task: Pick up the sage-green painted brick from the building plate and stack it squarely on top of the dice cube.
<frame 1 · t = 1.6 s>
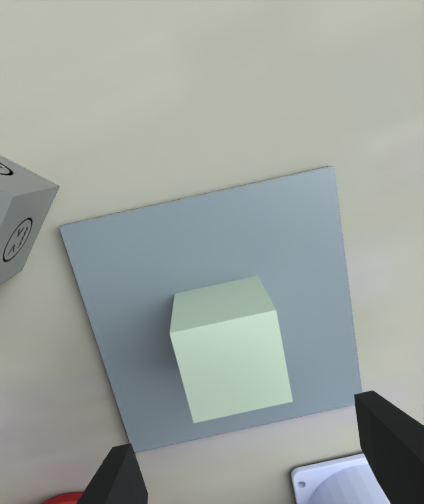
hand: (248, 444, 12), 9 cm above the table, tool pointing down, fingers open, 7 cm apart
building plate: (223, 318, 21), on the table
sage brick: (224, 322, 20), point 1 cm above the table, touching building plate
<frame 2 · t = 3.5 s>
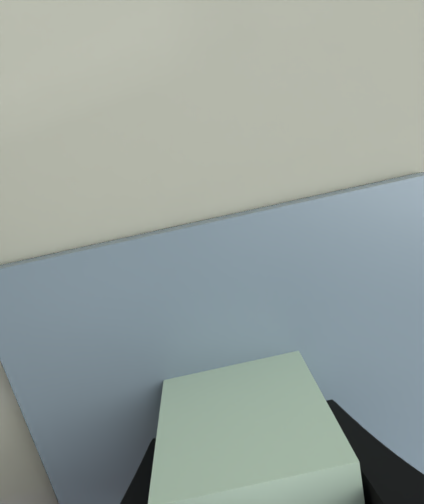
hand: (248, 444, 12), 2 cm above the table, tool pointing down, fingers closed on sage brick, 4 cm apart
building plate: (241, 410, 13), on the table
sage brick: (243, 422, 13), point 1 cm above the table, touching building plate, gripper
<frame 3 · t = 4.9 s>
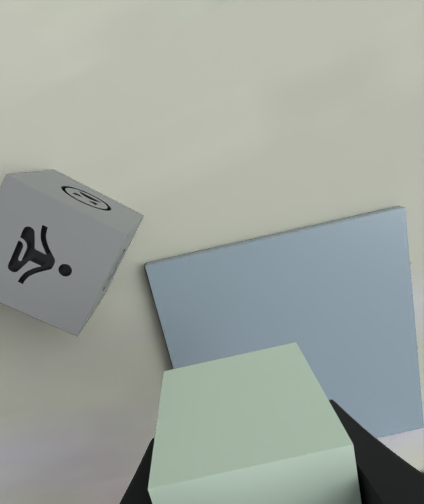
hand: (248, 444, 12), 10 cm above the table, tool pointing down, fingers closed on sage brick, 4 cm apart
building plate: (292, 348, 22), on the table
dice cube: (82, 233, 20), on the table
sage brick: (242, 413, 13), point 8 cm above the table, touching gripper
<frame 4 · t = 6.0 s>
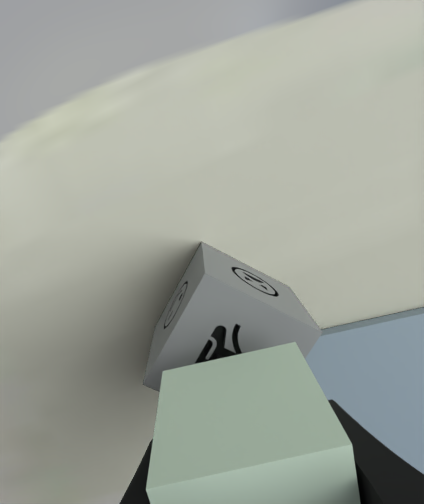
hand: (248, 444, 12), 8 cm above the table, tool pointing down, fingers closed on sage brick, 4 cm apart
dice cube: (221, 304, 19), on the table
sage brick: (241, 413, 13), point 6 cm above the table, touching gripper
when the fingers open (8 cm above the table, at t = 6.8 s): sage brick drops 1 cm, resting on dice cube.
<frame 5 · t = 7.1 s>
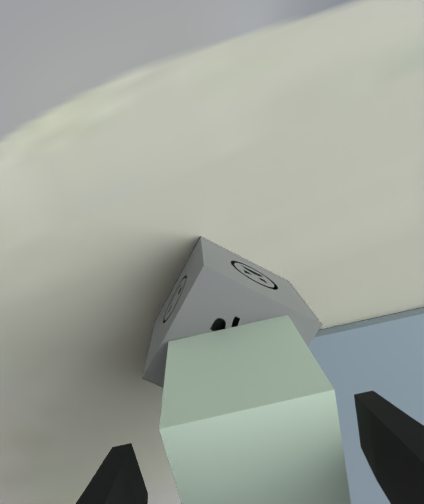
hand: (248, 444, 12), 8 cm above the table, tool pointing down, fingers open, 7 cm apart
dice cube: (221, 299, 19), on the table, touching sage brick
sage brick: (239, 380, 14), point 5 cm above the table, touching dice cube
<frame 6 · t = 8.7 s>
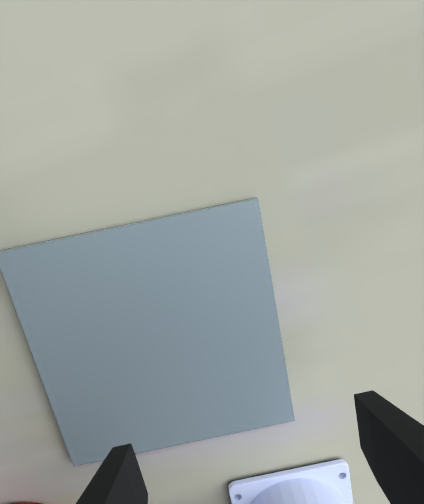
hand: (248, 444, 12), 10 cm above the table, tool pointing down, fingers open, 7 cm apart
building plate: (158, 339, 22), on the table
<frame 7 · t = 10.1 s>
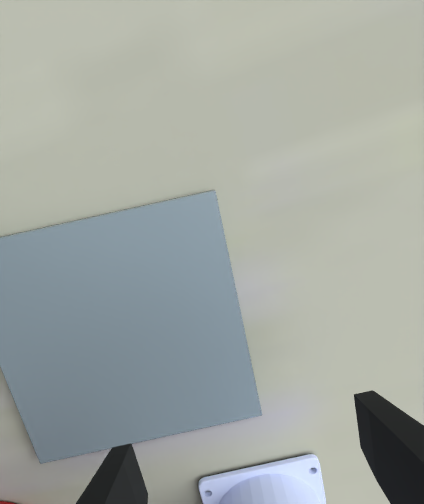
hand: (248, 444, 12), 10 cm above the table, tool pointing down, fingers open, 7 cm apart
building plate: (122, 334, 21), on the table
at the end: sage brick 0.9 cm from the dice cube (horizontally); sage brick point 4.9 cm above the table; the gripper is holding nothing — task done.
